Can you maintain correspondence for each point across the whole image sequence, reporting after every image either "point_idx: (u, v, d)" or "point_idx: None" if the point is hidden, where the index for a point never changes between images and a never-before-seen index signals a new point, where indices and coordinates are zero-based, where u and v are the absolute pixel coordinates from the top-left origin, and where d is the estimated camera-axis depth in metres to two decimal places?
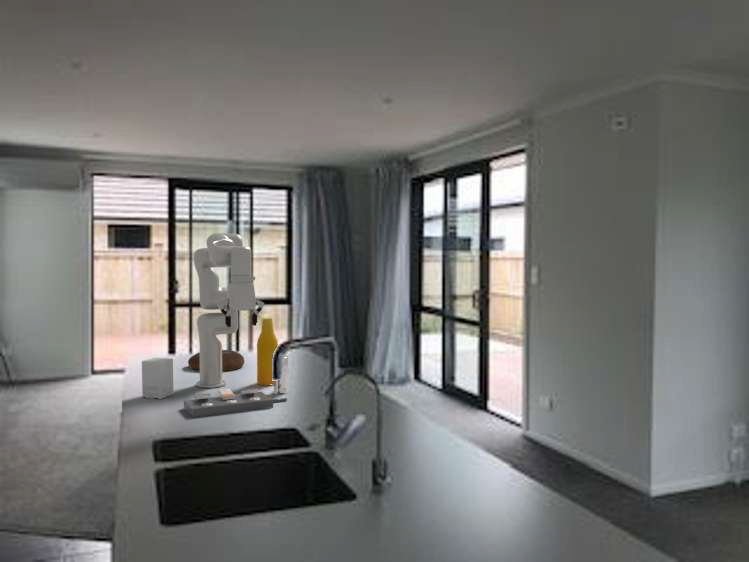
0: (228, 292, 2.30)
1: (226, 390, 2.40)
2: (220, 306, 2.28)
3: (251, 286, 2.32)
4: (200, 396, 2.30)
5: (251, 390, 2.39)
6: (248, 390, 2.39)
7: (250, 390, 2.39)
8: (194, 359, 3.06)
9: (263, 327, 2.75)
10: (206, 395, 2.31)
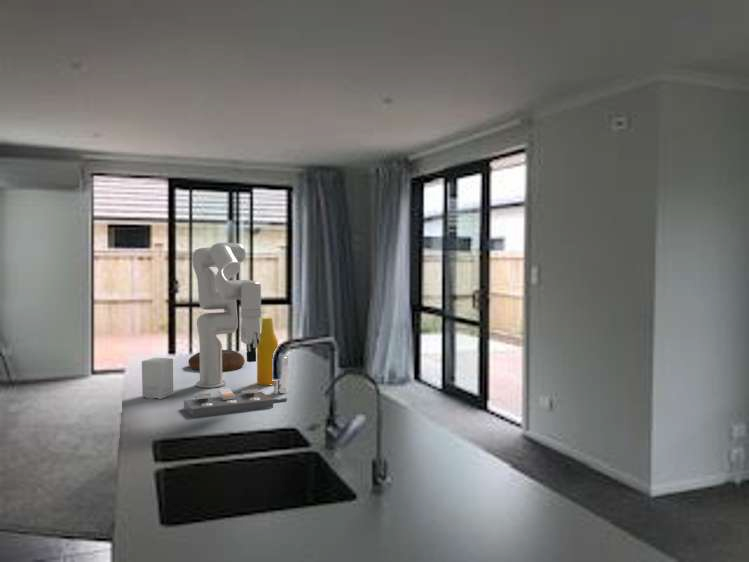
0: (255, 326, 2.35)
1: (226, 390, 2.40)
2: None
3: None
4: (200, 396, 2.30)
5: (251, 390, 2.39)
6: (248, 390, 2.39)
7: (250, 390, 2.39)
8: (194, 359, 3.07)
9: (263, 327, 2.75)
10: (206, 395, 2.31)
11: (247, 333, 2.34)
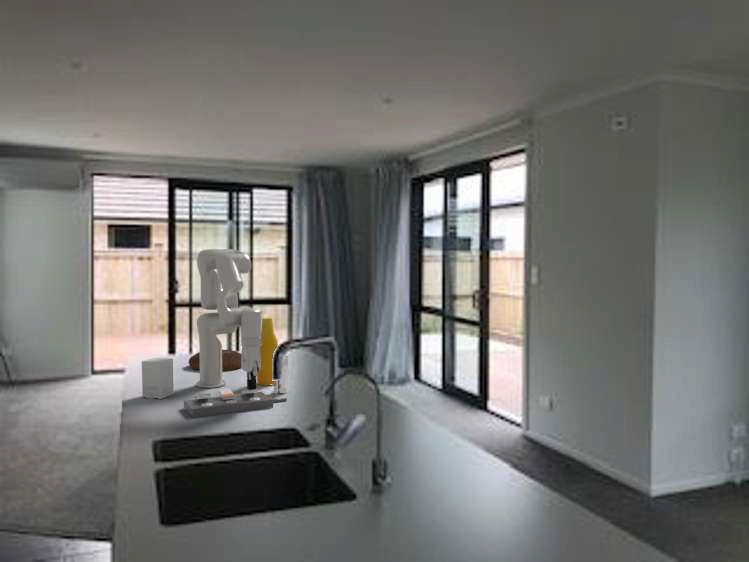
0: (255, 355, 2.35)
1: (226, 390, 2.40)
2: None
3: None
4: (200, 396, 2.30)
5: (251, 390, 2.39)
6: (248, 390, 2.39)
7: (250, 390, 2.39)
8: (195, 359, 3.07)
9: (263, 327, 2.75)
10: (206, 395, 2.31)
11: (247, 361, 2.35)
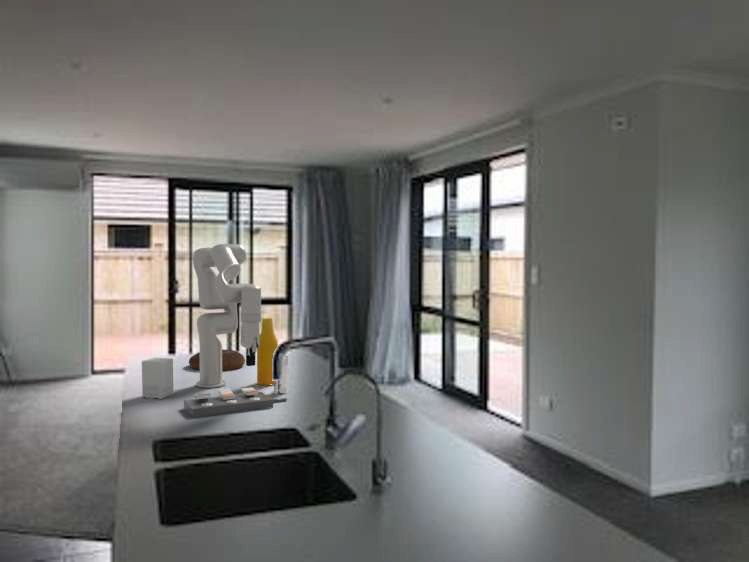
0: (255, 331, 2.35)
1: (226, 390, 2.40)
2: None
3: None
4: (200, 396, 2.30)
5: (251, 393, 2.39)
6: (248, 393, 2.39)
7: (250, 393, 2.39)
8: (195, 359, 3.08)
9: (263, 327, 2.75)
10: (206, 395, 2.31)
11: (247, 337, 2.35)
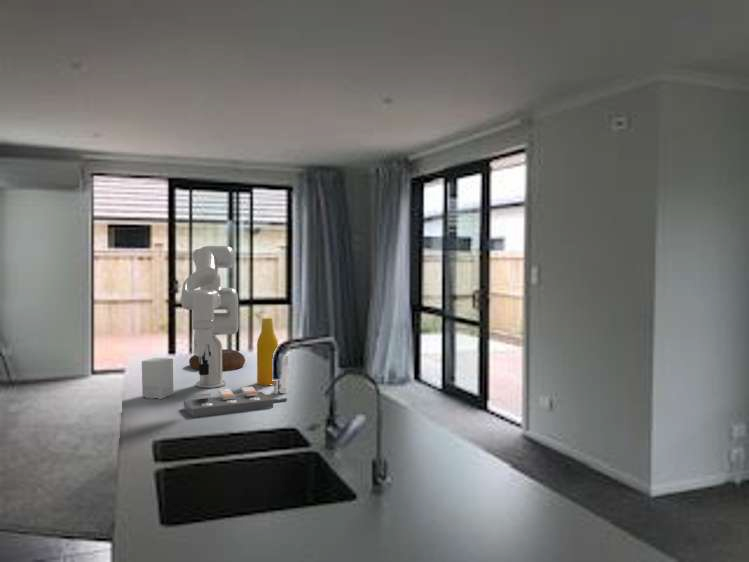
0: (207, 338, 2.26)
1: (226, 390, 2.40)
2: None
3: None
4: (200, 396, 2.30)
5: (251, 394, 2.39)
6: (248, 394, 2.39)
7: (250, 394, 2.39)
8: (195, 358, 3.08)
9: (263, 327, 2.75)
10: (206, 395, 2.31)
11: (198, 345, 2.26)
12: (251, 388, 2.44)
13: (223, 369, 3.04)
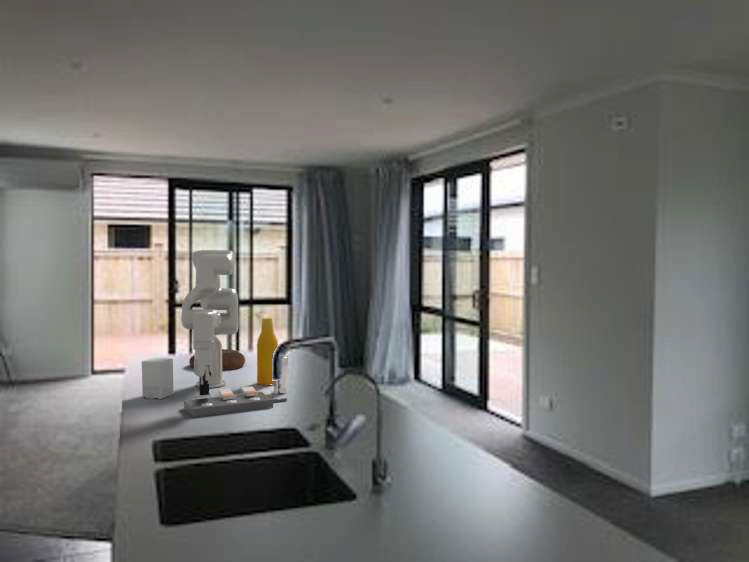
0: (207, 359, 2.26)
1: (226, 390, 2.40)
2: None
3: None
4: (200, 396, 2.30)
5: (251, 394, 2.39)
6: (248, 394, 2.39)
7: (250, 394, 2.39)
8: None
9: (263, 327, 2.75)
10: (206, 395, 2.31)
11: (199, 366, 2.26)
12: (251, 388, 2.44)
13: (223, 369, 3.05)
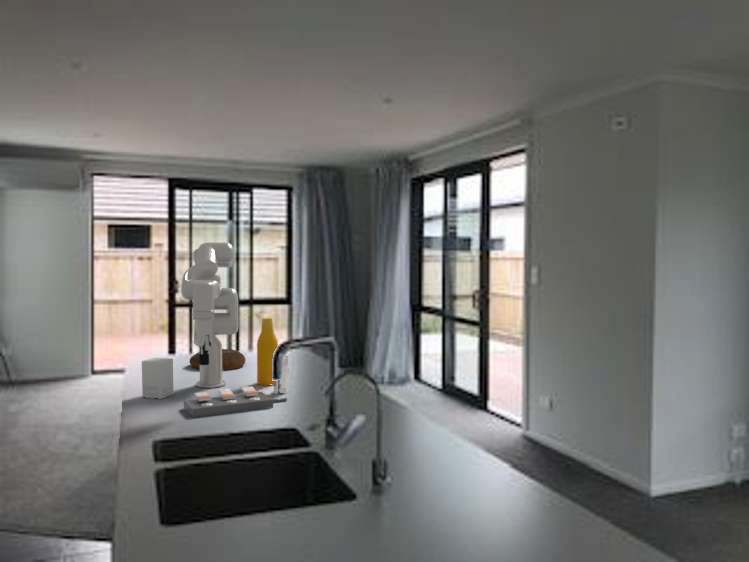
0: (207, 329, 2.26)
1: (226, 390, 2.40)
2: None
3: None
4: (200, 399, 2.30)
5: (251, 394, 2.39)
6: (248, 394, 2.39)
7: (250, 394, 2.39)
8: (196, 358, 3.09)
9: (263, 327, 2.75)
10: (206, 398, 2.31)
11: (199, 335, 2.26)
12: (251, 388, 2.44)
13: (224, 369, 3.05)
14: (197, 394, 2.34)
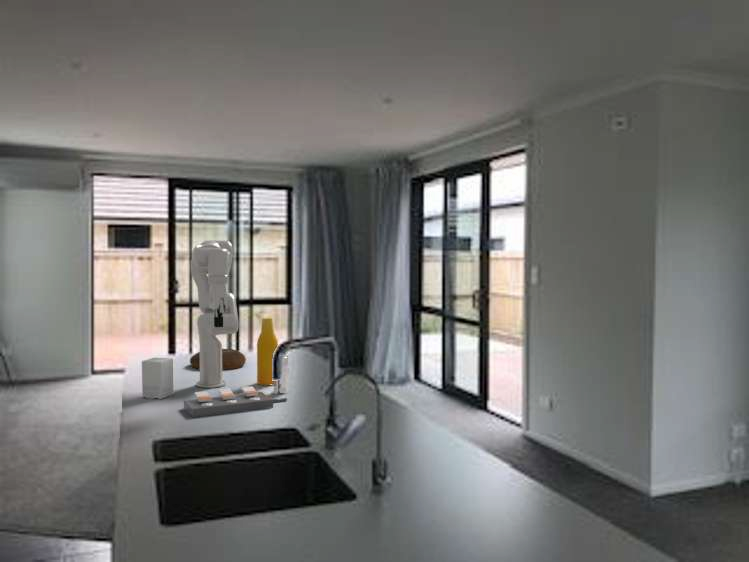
0: (221, 292, 2.41)
1: (226, 390, 2.40)
2: None
3: None
4: (200, 400, 2.30)
5: (251, 394, 2.39)
6: (248, 394, 2.39)
7: (250, 394, 2.39)
8: (196, 358, 3.09)
9: (263, 327, 2.75)
10: (206, 399, 2.31)
11: (214, 298, 2.41)
12: (251, 388, 2.44)
13: (224, 368, 3.06)
14: (197, 394, 2.34)
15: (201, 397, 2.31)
